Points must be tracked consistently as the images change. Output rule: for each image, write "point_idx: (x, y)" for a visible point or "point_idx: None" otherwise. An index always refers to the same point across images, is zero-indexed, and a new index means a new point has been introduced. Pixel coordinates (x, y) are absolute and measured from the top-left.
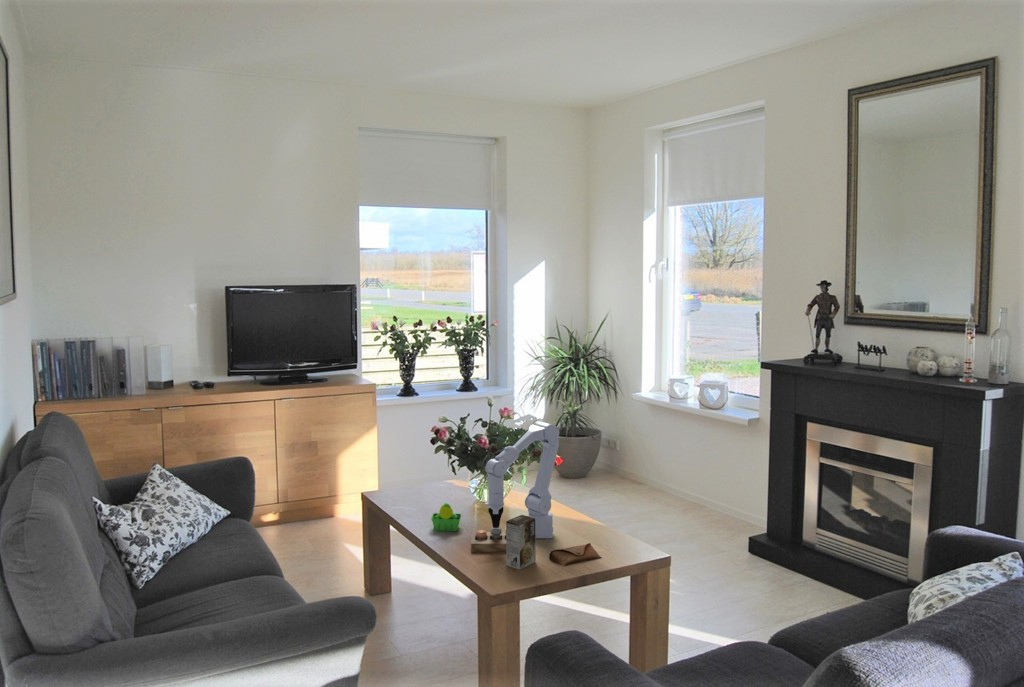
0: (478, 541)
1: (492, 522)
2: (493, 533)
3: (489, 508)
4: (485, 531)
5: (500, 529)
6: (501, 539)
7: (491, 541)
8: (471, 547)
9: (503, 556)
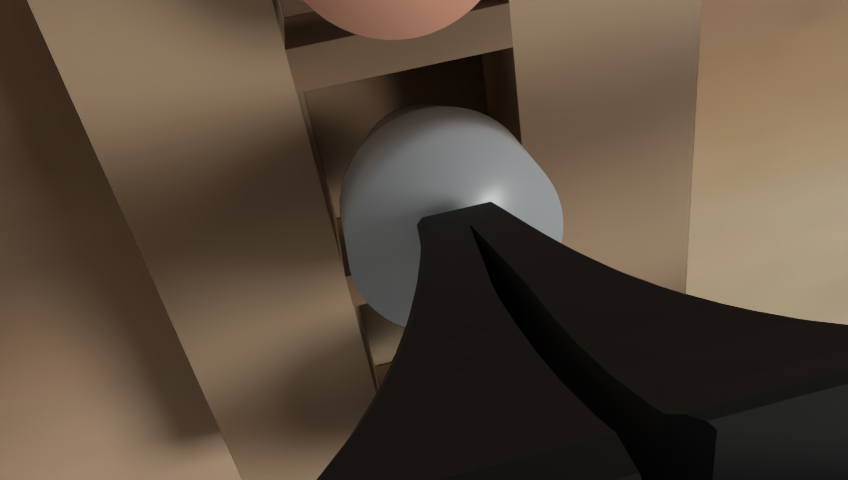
0: None
1: (417, 280)
2: (343, 193)
3: (794, 442)
4: (423, 8)
5: None
6: None
7: (207, 145)
8: None
9: (8, 311)
